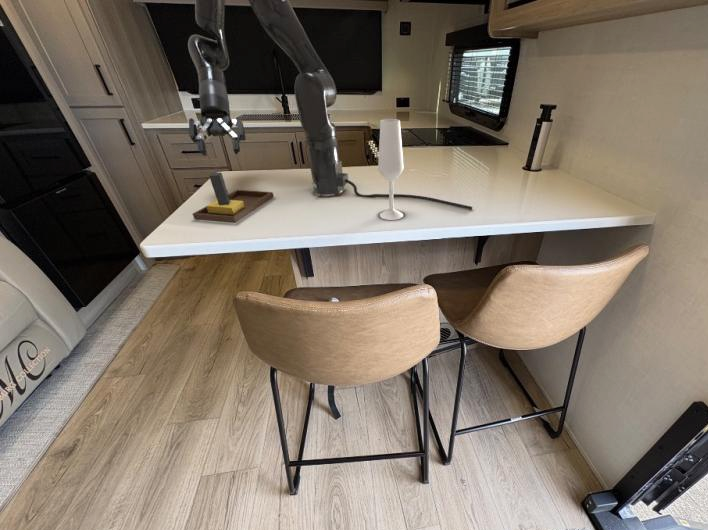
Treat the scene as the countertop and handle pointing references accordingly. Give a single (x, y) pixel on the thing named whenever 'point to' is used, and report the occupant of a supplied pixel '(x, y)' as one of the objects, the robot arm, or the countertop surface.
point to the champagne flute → (390, 160)
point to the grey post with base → (223, 198)
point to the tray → (248, 197)
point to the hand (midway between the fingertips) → (219, 153)
